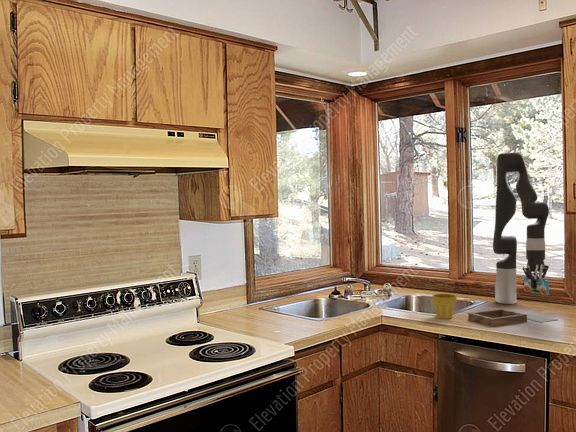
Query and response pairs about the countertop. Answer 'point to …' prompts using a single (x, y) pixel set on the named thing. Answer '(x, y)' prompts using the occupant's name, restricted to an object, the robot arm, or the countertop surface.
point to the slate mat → (539, 318)
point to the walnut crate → (507, 318)
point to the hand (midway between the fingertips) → (535, 288)
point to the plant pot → (444, 305)
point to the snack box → (541, 286)
